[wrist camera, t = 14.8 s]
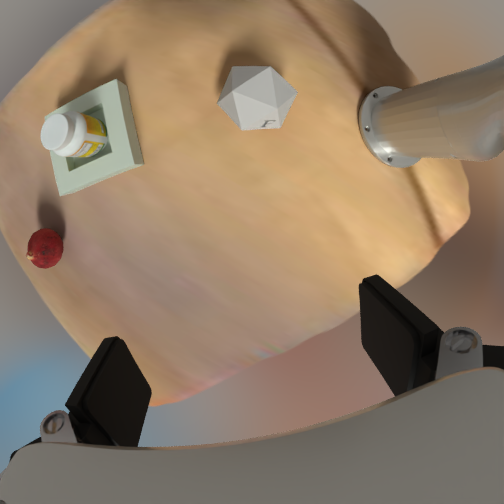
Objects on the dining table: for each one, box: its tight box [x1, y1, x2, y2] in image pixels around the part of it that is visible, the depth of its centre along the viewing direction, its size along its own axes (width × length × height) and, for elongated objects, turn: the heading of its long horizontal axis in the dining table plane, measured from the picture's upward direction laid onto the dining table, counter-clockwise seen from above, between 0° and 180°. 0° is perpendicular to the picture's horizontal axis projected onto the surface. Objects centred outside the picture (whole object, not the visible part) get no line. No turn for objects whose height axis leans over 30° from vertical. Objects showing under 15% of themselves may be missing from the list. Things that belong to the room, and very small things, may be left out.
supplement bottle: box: [41, 111, 108, 157], centre depth 26 cm, size 5×5×10 cm
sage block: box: [45, 79, 144, 196], centre depth 30 cm, size 12×12×4 cm
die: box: [217, 66, 298, 130], centre depth 29 cm, size 8×9×10 cm
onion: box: [26, 228, 63, 268], centre depth 32 cm, size 6×6×8 cm
